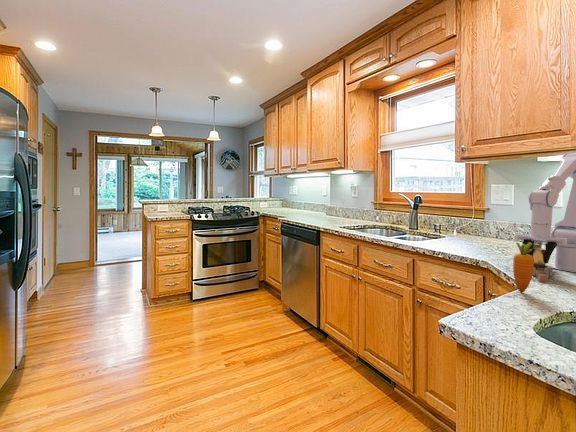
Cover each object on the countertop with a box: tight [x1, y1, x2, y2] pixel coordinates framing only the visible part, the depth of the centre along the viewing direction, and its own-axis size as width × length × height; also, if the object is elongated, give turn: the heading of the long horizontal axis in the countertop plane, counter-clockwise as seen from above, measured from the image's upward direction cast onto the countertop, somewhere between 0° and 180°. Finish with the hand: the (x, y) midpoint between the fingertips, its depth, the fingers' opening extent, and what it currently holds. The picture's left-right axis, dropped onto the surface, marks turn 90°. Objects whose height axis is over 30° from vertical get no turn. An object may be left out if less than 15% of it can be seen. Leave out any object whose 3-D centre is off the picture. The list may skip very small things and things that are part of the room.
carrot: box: [512, 242, 534, 294], centre depth 95 cm, size 5×5×15 cm
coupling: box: [532, 264, 554, 284], centre depth 116 cm, size 15×16×3 cm
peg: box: [532, 248, 546, 268], centre depth 116 cm, size 4×4×7 cm
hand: (538, 261), depth 116 cm, fingers closed on peg, 4 cm apart
